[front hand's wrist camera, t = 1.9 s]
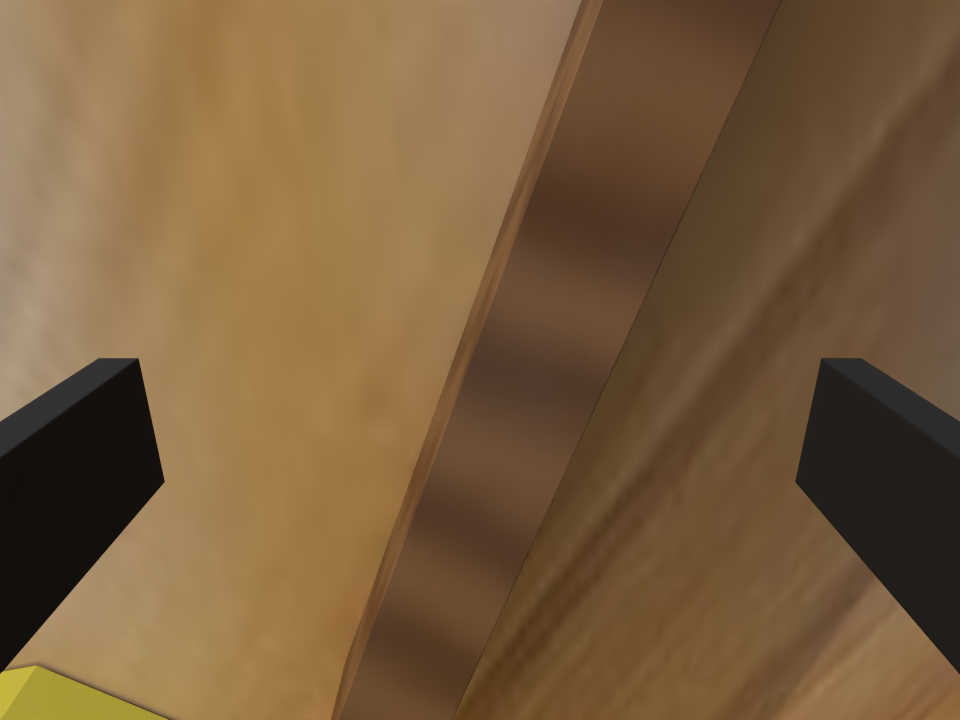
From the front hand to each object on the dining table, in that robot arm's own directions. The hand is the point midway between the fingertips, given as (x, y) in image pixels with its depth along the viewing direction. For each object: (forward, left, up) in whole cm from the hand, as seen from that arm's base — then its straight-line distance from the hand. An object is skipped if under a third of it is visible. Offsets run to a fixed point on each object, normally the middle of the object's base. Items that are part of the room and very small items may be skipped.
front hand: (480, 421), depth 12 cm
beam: (+5, -11, -20) cm, 24 cm away
